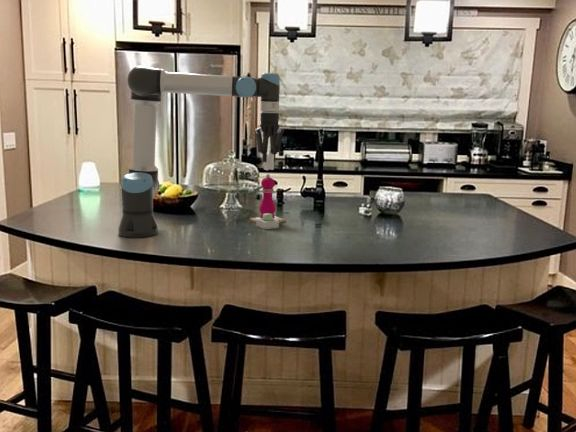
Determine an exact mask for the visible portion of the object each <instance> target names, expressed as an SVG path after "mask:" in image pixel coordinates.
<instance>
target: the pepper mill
mask: <svg viewBox="0 0 576 432" xmlns="http://www.w3.org/2000/svg"><path fill="white" fill-rule="evenodd" d="M260 185H261V187H262V189H261V192H262V195H263V196H262V200H261V202H260V205H259V209H258V210H259V213H260V214H259V215H260V216H259V217H260V219H261V218H263V214H265V213H270V214H272V218H273V219H274V216H275V214H274V213H275V212H276V205H275V201H274V199H273V194H274V192H275V191H274V187H275V185H276V182H275V179H274V178H272V177H271V174H269V173H266V175H265V177H264V178H263V179H261V182H260Z"/></svg>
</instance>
